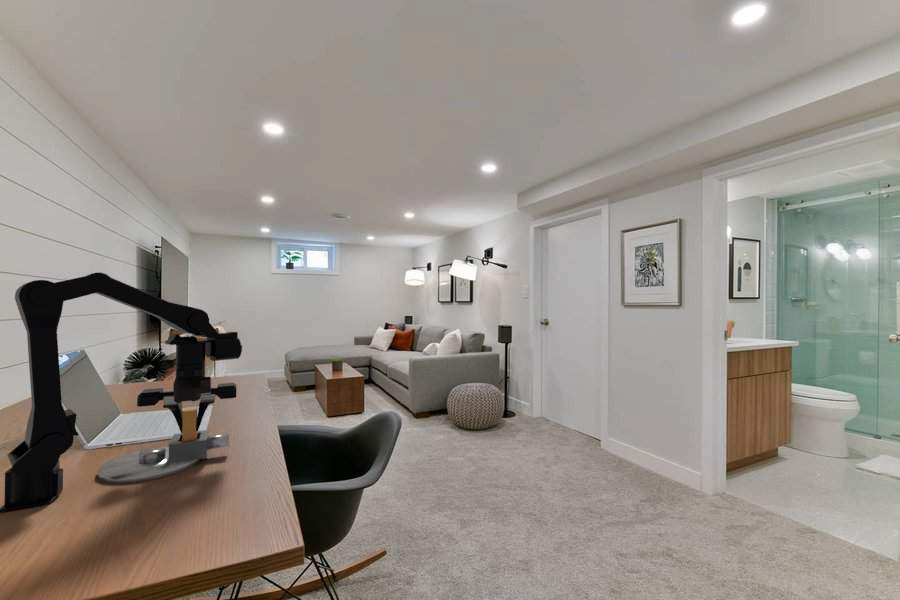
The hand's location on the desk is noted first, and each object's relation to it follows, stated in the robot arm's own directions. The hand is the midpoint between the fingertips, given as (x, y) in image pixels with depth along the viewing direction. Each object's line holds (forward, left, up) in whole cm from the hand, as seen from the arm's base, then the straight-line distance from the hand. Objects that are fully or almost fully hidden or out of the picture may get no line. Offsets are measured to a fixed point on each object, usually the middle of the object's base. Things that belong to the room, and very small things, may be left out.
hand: (189, 431), depth 92 cm
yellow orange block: (0, 0, -3) cm, 3 cm away
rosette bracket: (-4, 0, -6) cm, 8 cm away
